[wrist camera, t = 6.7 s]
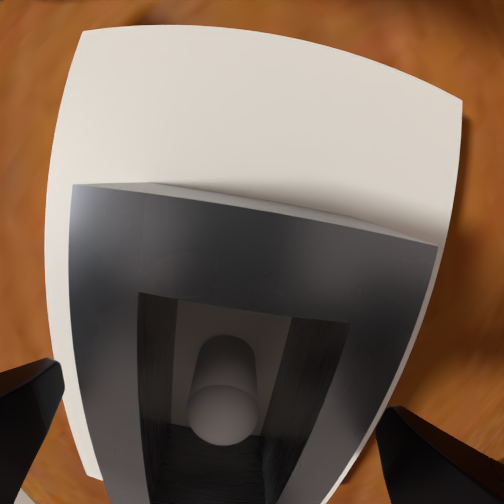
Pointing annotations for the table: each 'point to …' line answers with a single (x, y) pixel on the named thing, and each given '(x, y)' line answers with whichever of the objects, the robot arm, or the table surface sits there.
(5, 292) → the table surface
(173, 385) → the keeper board
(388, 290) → the steel link
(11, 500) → the robot arm
